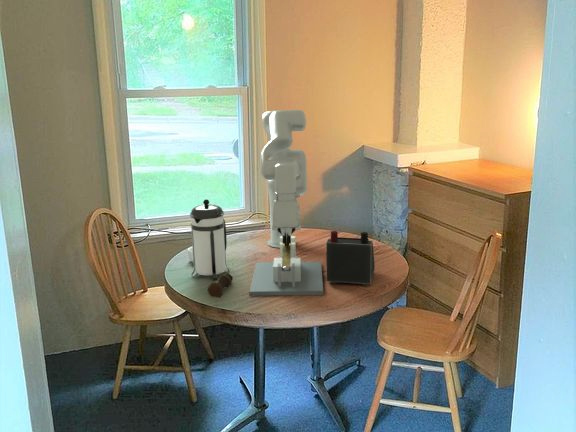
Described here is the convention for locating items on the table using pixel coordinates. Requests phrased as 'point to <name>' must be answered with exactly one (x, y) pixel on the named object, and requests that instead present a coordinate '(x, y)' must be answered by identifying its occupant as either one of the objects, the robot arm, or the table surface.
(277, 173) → the robot arm
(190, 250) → the teacup
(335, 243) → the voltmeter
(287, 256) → the wooden building block
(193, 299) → the table surface
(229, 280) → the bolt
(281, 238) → the block
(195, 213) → the coffee press
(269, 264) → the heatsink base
